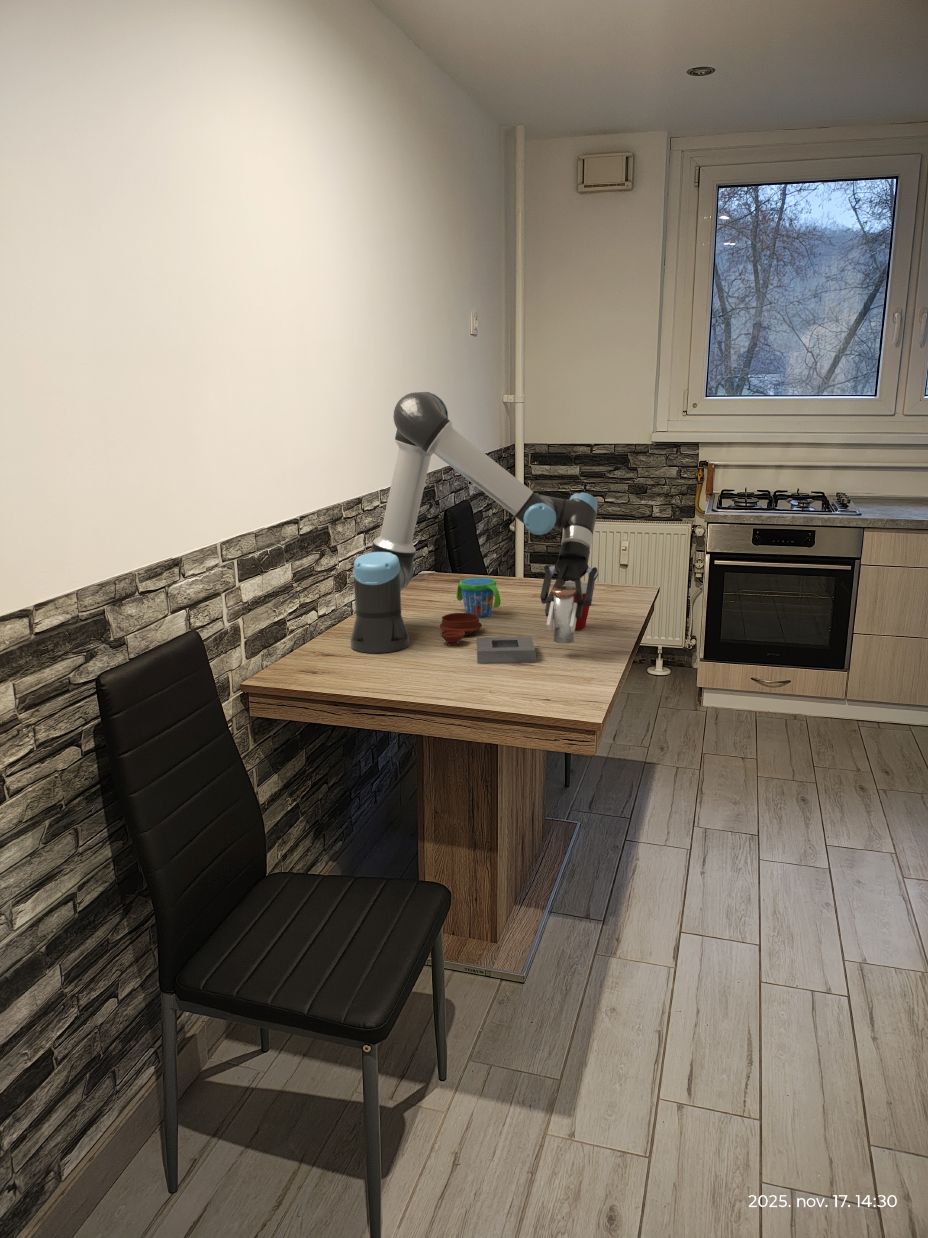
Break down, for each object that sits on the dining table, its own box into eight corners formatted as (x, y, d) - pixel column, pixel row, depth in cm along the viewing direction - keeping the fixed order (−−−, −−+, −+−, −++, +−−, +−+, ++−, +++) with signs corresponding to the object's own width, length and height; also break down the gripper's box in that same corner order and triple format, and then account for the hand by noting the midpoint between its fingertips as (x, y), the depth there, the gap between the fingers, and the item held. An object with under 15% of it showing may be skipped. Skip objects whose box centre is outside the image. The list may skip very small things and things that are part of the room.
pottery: (485, 627, 246) (485, 612, 245) (472, 648, 227) (472, 632, 226) (444, 626, 248) (443, 611, 247) (428, 647, 229) (427, 630, 228)
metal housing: (477, 663, 214) (477, 651, 214) (476, 648, 226) (476, 637, 225) (535, 662, 214) (535, 650, 214) (531, 647, 226) (531, 636, 225)
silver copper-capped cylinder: (552, 644, 215) (552, 592, 212) (550, 637, 221) (550, 586, 218) (577, 643, 215) (578, 591, 212) (574, 637, 221) (574, 586, 218)
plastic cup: (553, 633, 239) (554, 589, 236) (554, 622, 249) (555, 580, 246) (594, 633, 237) (595, 589, 234) (594, 623, 248) (594, 581, 245)
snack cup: (447, 613, 262) (446, 579, 259) (474, 607, 268) (474, 574, 265) (481, 623, 250) (481, 588, 247) (509, 617, 256) (509, 582, 254)
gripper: (612, 557, 225) (599, 638, 214) (543, 555, 231) (527, 633, 220) (609, 540, 219) (595, 622, 208) (538, 538, 224) (521, 617, 214)
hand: (560, 627), depth 214 cm, fingers closed on silver copper-capped cylinder, 5 cm apart
